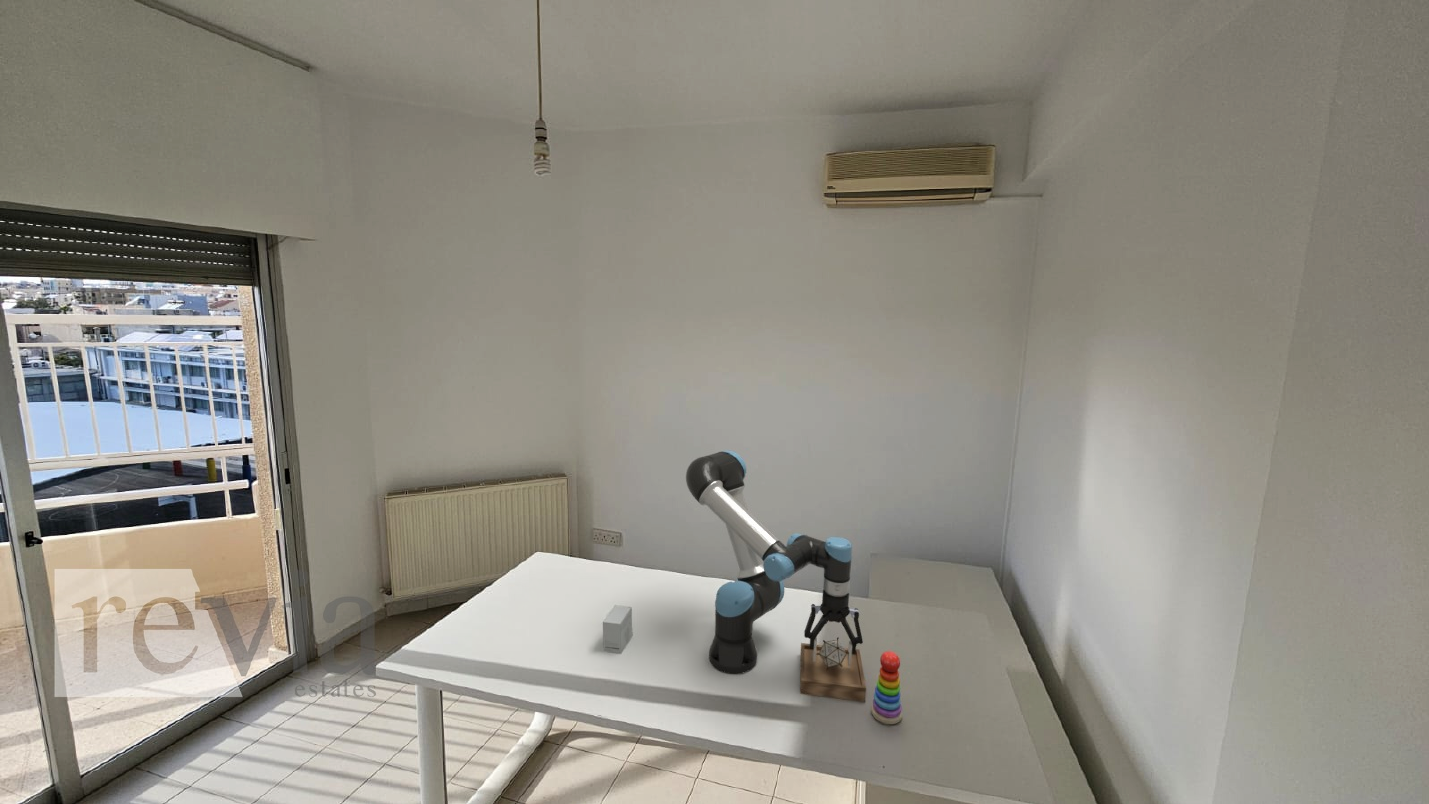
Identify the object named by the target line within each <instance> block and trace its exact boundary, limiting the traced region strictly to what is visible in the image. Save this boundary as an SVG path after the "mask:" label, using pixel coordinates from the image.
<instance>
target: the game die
mask: <svg viewBox="0 0 1429 804" xmlns="http://www.w3.org/2000/svg"><path fill="white" fill-rule="evenodd" d="M839 639H840V638H839V636H838V637H836V639H833V640H828V641H825V640H824V639H823V640H822V642H823V644H822V645H823V646H822V648H821V650H820V652H819V653H817V655H820V657H821V658H822V660H823V661H824V663H825V664H826V666H827V670H828V668H829V667H834V666H838V665H840V666H841V667H842V665H841V664H842V662H843V660H844V658H845V656H846V654H849V652H846V651H845V649H844V648H845V647H843V645H842V644H841V642H840V641H839Z"/></svg>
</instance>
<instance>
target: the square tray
mask: <svg viewBox="0 0 1429 804" xmlns="http://www.w3.org/2000/svg"><path fill="white" fill-rule="evenodd" d="M822 646H823V644H822V645H821V644H817V649H816V662H814V661H813V650H812V649H810V643H805V642H804V643H803V642H801V644H800V677H799V678H800V680H799V681H800V682H799V683H800V685H799V686H800V687H799V688H800V691H799V692H800V694H801V695H802V694H803V695H808V696H809V695H810V696H819V697H825V698H826V697H827V698H834V699H842V700H850V701H858V702H864V703H865V702H866V694H867V685H866V681H865V675H864V674H865V673H864V668H863V667H864V666H863V663H862V657H861V656H862V655H861V651H860V649H858V648H856V653H855V654H852V657H851V666H848V654H846V656H845V658H844V660H843V662H842V664H841V665H842V667H841V666H840V665H838V666H834V667H829V668H828V670H827V666H826V664H825V663H824V661H823V660H822V658H821V657H820V655H817V653H819V652H820V650H821V648H822ZM843 648H844V649H845V651H846V652H848V647H843Z"/></svg>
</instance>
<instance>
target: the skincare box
mask: <svg viewBox="0 0 1429 804" xmlns="http://www.w3.org/2000/svg"><path fill="white" fill-rule="evenodd" d="M632 611H633V607H632V606H627V605H618V604H615V605H614V606H613V607H612V608H611V610H610V611H609V612H608V614H607V615H606V617H605V618H604V619H602V639H603V642H602V644H603V652H607V653H615V654H620V655H621V654H622V653H623V652H624V650H625V649H626V647H627V646H628V644H629V642H630V640H631V639H632V637H633V633H634V632H633V612H632Z"/></svg>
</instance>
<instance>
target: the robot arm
mask: <svg viewBox="0 0 1429 804" xmlns="http://www.w3.org/2000/svg"><path fill="white" fill-rule="evenodd" d="M687 467H688V468H687V469H686V473H685V482H686V486H687V488H688V491H689V492H690V494H691V495H692V497H693V498H694V499H695V500H696V501H697V502H698V503H699V505H701V506H706V507H708V508H709V509H710V510H711V512H713V514H715V515H716V516H717V517H718V518H719V519H720V520H721V521H722V522H723V523H724V524H725V528H726V531H727V533H728V536H729V540H730V542H731V547H732V550H733V552H734V556H735V559H736V562H737V567H738V569H739V570H738V574H737V576H736V577H737V578H736V579H737V580H734V581H729V582H726V583H724V584H722V585H721V586H720V587H719V588H718V590H717V592H716V596H715V597H716V598H715V600H714V607H715V610H714V613H715V615H714V618H715V619H714V620H715V621H714V623H715V624H714V637H713V638H712V642H711V645H710V647H709V650H708V660H709V663H710V665H711V666H712V667H713V668H714V669H716V670H717V671H719V672H721V673H724V674H730V675H738V674H739V675H740V674H744V673H746V672H749V671H751V670H752V669H754V668H755V667H756V665H757V662H758V651H757V647H756V645H755V641H754V637H753V629H754V628H753V624H754V622H755V621H756V620H758V619H759V618H762V617H763V616H764V615H766V614H768V613H769V612H770V611H772V610H774V609H775V608H777V606H779V605H780V604H781V602H782V601H783V599H784V596H785V584H784V582H783V580H786V579H788V578H790V577H792V576H793V575H794V574H796V573H797V572H799V571H800V570H803V569H804V568H806V567H807V566H808V565H812V566H814V567H817V568H821V569H823V578H822V579H823V582H822V583H823V585H822V597H821V598H822V600H821V604H820V605H816V604H815V603H812V604H811V605H810V606H811V607H810V609H811V611H810V614H809V616H808V617H809V618H808V620H807V623H806V625H805V629H804V632H803V633H804V638H805V639H809V644H810V649H812V650H813V661H814V662H816V649H817V645H818V644H817V642H818V640H817V639H818V635H819V634H820V632H821V631H822V629H823V628H824V627H825V625H827V623H828V622H830V623H831V622H832V623H833V622H835V623H841V625H842V627H843V629H844V630H845V633H846V635H847V636H848V647H847V648H848V652H849V654H848V666H851V657H852V654H855V653H856V649H857V646H858V644H859V645H862V644H863V642H864V641H863V636H862V632H861V627H860V623H859V618H860V613H859V611H860V610H859V609H858V608H856V607H855V608H854V609H853V608H850V607H849V602H850V601H849V599H850V586H851V585H850V584H851V583H850V582H851V567H852V559H853V555H852V553H853V552H852V551H853V549H852V548H853V547H852V543H851V542H850V541H849V540H848V539H846V538H844V537H838V536H831V537H828V538H827V539H826V540H825V541H823V540H820V539H817V538H814V537H811V536H809V535H808V534H802V533H796V532H795V533H793V534H792V535H791V536H790V538H788V540H787V543H786V545H785V544H784V543H783V542H782V541H780V540H779V539H778V537H777V536H775V535H774V534H773V533H772V532H771V531H770V530H769V529H768V528H767V527H766V526H765V525H764V524H762V523H761V522H760V521H759V520H758V519H757V518H756V517H755V515H753V514H752V513H751V512H750V511H749V509H748V506H747V503H746V501H745V500H746V499H745V497H744V494H743V491H744V490H745V487H746V485H745V482H744V480H745V478H746V476H747V475H746V474H747V466H746V461H744V459H743V458H742V457H741V455H740V454H738V453H736V452H734V451H732V450H724V451H719V452H715V453H712V454H709V455H705V456H701V457H700V456H699V457H697V458H696V459H694V460H692V461H691V463H690V464H689V466H687ZM819 612H821V614H822V615H821V618H819V621H818V622H817V623H816V625H814V623H815V619H816V616H817V615H818V614H819ZM849 615H850V616H851V618H853V623H854V626H855V627H854V628H855V631H856V636H855V634H854V632H853V631H852V628H851V626H850V624H849V622H848V620H847V617H848V616H849ZM813 625H814V628H813ZM812 628H813V629H812Z"/></svg>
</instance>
